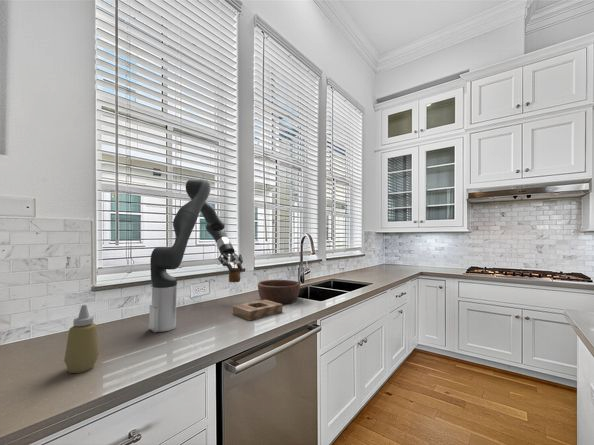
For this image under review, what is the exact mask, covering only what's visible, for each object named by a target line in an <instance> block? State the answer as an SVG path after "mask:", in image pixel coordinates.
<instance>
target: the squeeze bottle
mask: <svg viewBox="0 0 594 445" xmlns="http://www.w3.org/2000/svg"><path fill="white" fill-rule="evenodd" d="M80 306H81V307H80V310H79V313H78V317H75V318H73V325H72V326H71V327H70V328H69V330H68V335H67V341H66V348H65V354H64V359H63V360H64V364H65V366H66V368H67V371H68V372H69V373H72V374H79V373H84V372H86V371H89V370H91V369H93V368H94V367H95V364H96V363H97V359H98V357H99V355H100V350H99V338H98V324H96V323H94V316H92V315H90V314H89V309H88V306H87V304H82V305H80Z"/></svg>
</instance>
